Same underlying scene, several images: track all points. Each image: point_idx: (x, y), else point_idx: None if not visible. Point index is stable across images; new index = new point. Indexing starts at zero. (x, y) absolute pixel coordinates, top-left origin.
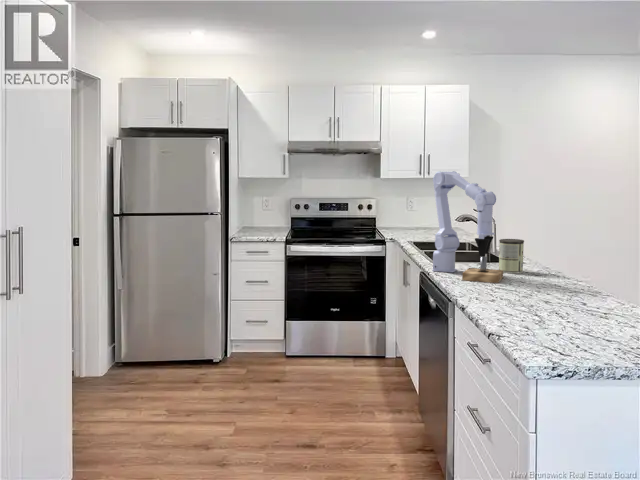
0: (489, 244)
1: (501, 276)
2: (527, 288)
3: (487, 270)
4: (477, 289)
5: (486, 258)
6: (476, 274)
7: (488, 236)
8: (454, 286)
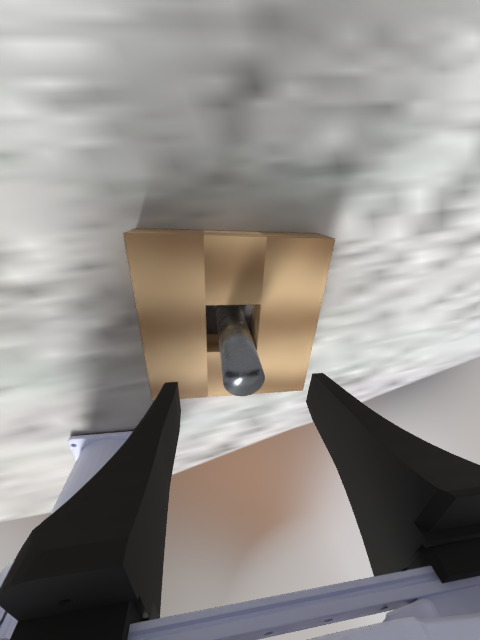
0: (158, 449)
1: (204, 232)
2: (446, 43)
3: (188, 316)
4: (460, 290)
5: (248, 358)
6: (312, 339)
7: (67, 613)
8: (409, 363)
